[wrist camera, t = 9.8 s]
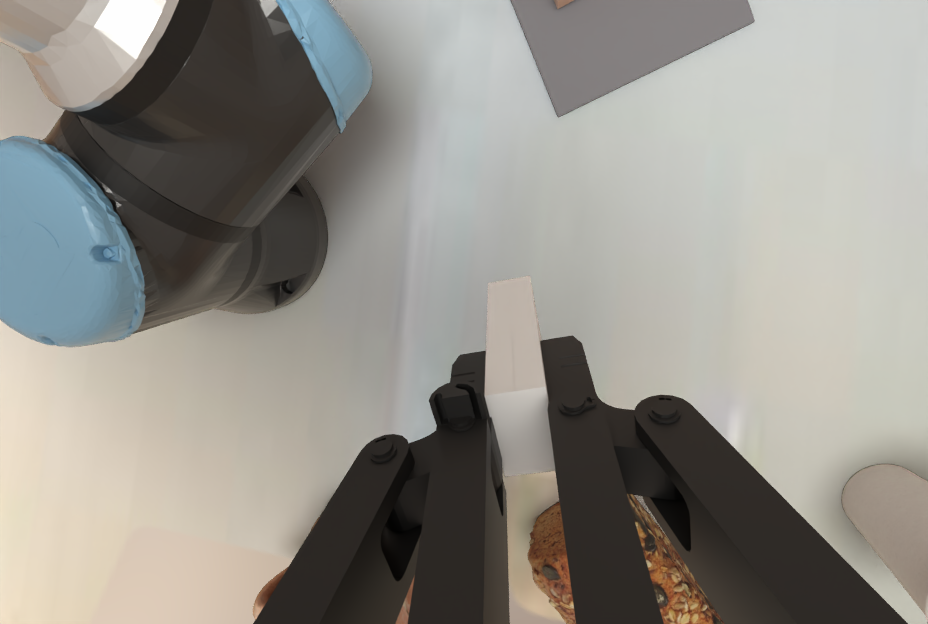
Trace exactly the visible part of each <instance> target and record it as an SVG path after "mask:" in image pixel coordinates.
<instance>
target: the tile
mask: <svg viewBox="0 0 928 624" xmlns="http://www.w3.org/2000/svg"><path fill="white" fill-rule="evenodd" d="M572 1H574V0H554V2H555V4H556V7H557V9H559V8H561V7H563V6H565V5H566V4H568V3H570V2H572Z"/></svg>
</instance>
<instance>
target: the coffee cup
mask: <svg viewBox="0 0 928 624" xmlns="http://www.w3.org/2000/svg"><path fill="white" fill-rule="evenodd" d="M842 505H843V509H844V511H845V513H846V515H847V516H848V518H849V519H850V520H851V521H852V523H853V524H854V525H855V526H856V528H857V529H858V530H859V531H860V533H861V534H862V535H863V536H864V538H865V539H866V540H867V542H868V543H869V544H870V545H871V547H872V548H873V549H874V550H875V552H876V553H877V554H878V555H879V557H880V558H881V559H882V560H883V562H884V563H885V564H886V566H887V567H888V568H889V569H890V571H891V572H892V573H893V574H894V576H895V577H896V578H897V579H898V581H899V582H900V583H901V585H902V586H903V587H904V588H905V590H906V591H907V592H908V593H909V595H910V596H911V597H912V599H913V600H914V601H915V602H916V604H917V605H918V606H919V608H920V609H921V610H922V611H923V613H924V614H925V615H926V620H927V624H928V481H926V480H925V479H923V478H921V477H919V476H918V475H916V474H914V473H912V472H911V471H909V470H907V469H905V468H903V467H900V466H897V465H891V464H879V465H873V466H870V467H867V468H864V469H862V470H861V471H859V472H857V473H856V474H855V475H853V476H852V477H851V478H850V480H849V481H848V482H847V484H846V485H845V487H844V490H843V493H842Z"/></svg>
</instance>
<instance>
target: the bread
mask: <svg viewBox="0 0 928 624" xmlns="http://www.w3.org/2000/svg"><path fill="white" fill-rule="evenodd" d="M627 495H628V499H629V503H630V506H631V510H632V513H633V517H634V520H635V524H636V527H637V531H638V534H639V538H640V541H641V545H642V548H643V552H644V555H645V559H646V562H647V566H648V569H649V573H650V576H651V580H652V583H653V587H654V591H655V594H656V598H657V601H658V605H659V608H660V612H661V615H662V619H663V622H664V624H724V622H723V621H722V619H721V618H720V616H719V615H718V613H717V612H716V610H715V609H714V607H713V606H712V604H711V603H710V601H709V599H708V598H707V596H706V595H705V593H704V592H703V590H702V589H701V587H700V586H699V584H698V583H697V581H696V580H695V578H694V577H693V575H692V574H691V572H690V571H689V569H688V567H687V566H686V564H685V563H684V561H683V560H682V558H681V557H680V555H679V554H678V552H677V551H676V549H675V548H674V546H673V545H672V543H671V542H670V541H669V539H668V538H667V537H666V536H665V534H664V533H663V532H662V530H661V529H660V527H659V526H658V525H656V523H655V522H654V520H653V519H652V518H651V516H650V515H649V514H648V513H647V512H646V510H645V509H644V508H643V507H642V506H641V504H640V503H639V502H638V501H637V499H636V498H635V497H634V495H633V494H627ZM530 537H531V540H530V542H529V543H530V549H529V552H528V560H529V562H530V564H531V566H532V570H533V571H532V573H533V580H534V582H535V584H536V585H537V586H538V588H539V589H540V590H541V591H542V592H544V593H545V594H546V595H547V596H548V597H550V600H549V603H550V604H551V605H552V606H553V607H555V609H556V610H557V611H558V612H559V613H560V615H561V616H562V618H563V619H564V621H565V622H566V624H576V620H575V612H574V605H573V597H572V590H571V582H570V575H569V567H568V560H567V553H566V545H565V538H564V530H563V523H562V515H561V508H560V502H558V503H557V504H555V505H553V506H552V507H550V508H549V509H547V510H546V511H545V512H543V513H542V514H541V515H540V516H539V517H538V518H537V521H536V523H535V525H534V528H533V531H532V532H531V533H530Z"/></svg>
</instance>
